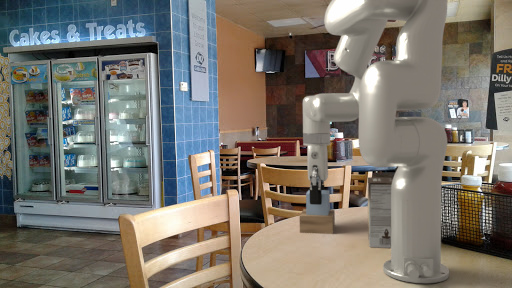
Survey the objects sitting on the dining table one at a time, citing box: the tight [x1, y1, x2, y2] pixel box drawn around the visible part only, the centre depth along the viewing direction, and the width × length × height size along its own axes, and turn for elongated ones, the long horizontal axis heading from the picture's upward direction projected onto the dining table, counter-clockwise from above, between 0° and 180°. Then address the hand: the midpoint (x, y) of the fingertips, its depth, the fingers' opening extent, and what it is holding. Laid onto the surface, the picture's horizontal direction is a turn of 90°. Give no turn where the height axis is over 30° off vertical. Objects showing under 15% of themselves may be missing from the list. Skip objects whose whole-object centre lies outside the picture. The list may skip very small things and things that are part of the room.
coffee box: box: [367, 176, 394, 249], centre depth 113 cm, size 9×6×16 cm
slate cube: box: [305, 189, 331, 216], centre depth 128 cm, size 6×6×6 cm
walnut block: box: [299, 208, 336, 235], centre depth 128 cm, size 9×9×5 cm
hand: (317, 200), depth 128 cm, fingers open, 8 cm apart
